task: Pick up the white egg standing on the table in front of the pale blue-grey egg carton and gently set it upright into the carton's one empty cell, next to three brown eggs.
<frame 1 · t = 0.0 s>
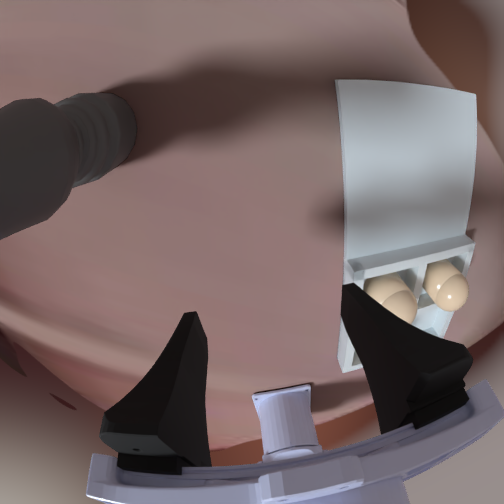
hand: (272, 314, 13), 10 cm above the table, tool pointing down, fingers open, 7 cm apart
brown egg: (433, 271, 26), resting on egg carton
candle holder: (100, 132, 17), on the table
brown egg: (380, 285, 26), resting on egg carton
egg carton: (401, 300, 28), on the table
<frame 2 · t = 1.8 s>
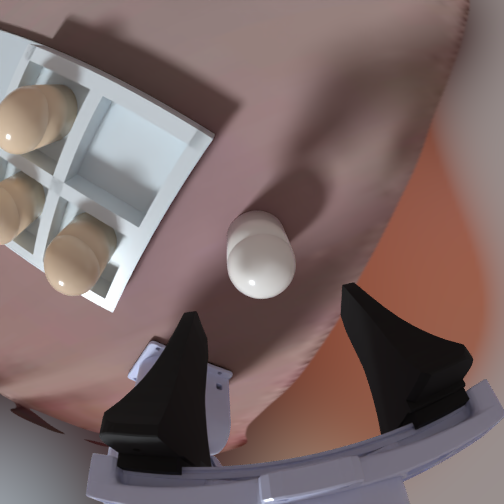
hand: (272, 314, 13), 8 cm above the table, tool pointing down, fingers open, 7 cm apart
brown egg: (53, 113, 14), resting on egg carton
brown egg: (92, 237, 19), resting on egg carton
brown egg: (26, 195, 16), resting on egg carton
white egg: (255, 237, 20), on the table
egg carton: (73, 175, 16), on the table
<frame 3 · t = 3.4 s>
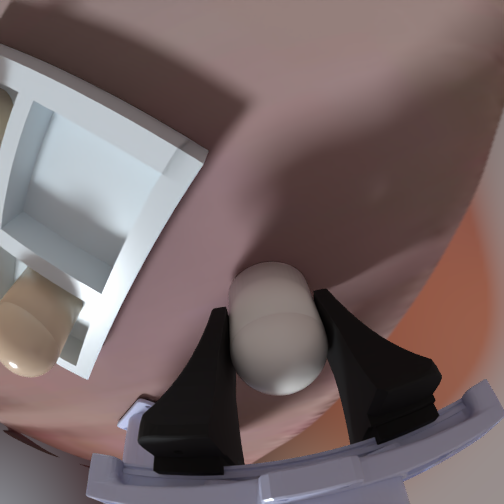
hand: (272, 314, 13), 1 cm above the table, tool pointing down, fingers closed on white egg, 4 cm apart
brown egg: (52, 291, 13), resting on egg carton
white egg: (268, 295, 15), on the table, touching gripper
egg carton: (20, 210, 11), on the table
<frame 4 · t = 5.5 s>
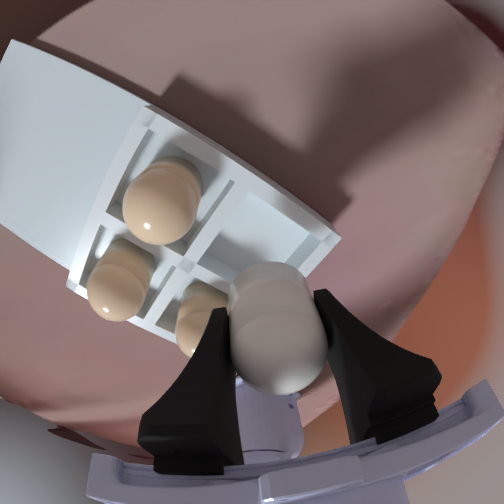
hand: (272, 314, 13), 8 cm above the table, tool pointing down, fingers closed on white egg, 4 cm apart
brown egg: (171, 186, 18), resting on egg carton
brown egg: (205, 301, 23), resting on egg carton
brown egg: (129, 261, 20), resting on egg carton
white egg: (268, 295, 15), point 7 cm above the table, touching gripper
egg carton: (190, 247, 21), on the table
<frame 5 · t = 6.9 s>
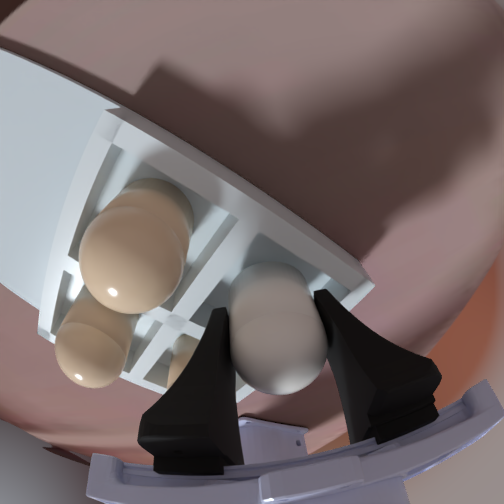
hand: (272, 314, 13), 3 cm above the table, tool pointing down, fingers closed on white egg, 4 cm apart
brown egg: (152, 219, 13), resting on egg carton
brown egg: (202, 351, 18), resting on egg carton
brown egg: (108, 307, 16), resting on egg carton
white egg: (268, 295, 15), point 2 cm above the table, touching gripper
egg carton: (181, 292, 16), on the table
when the fingers open (3 cm above the table, at t = 7.8 s): white egg drops 1 cm, resting on egg carton.
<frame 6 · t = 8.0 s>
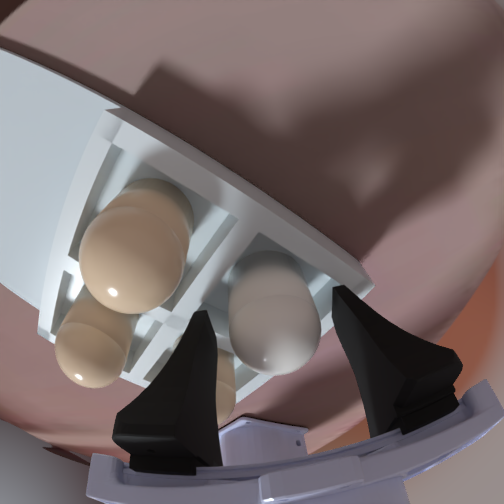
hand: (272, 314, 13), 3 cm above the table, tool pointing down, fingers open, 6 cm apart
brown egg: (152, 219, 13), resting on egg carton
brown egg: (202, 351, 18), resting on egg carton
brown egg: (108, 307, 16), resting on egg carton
white egg: (265, 283, 16), resting on egg carton
egg carton: (181, 292, 16), on the table
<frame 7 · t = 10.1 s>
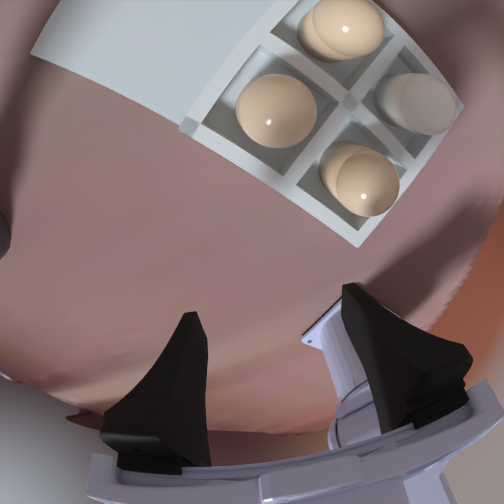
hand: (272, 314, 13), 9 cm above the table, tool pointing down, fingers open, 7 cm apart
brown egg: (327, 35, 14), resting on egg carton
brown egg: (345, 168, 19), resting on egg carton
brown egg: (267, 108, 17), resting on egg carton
white egg: (397, 100, 16), resting on egg carton
egg carton: (336, 101, 17), on the table
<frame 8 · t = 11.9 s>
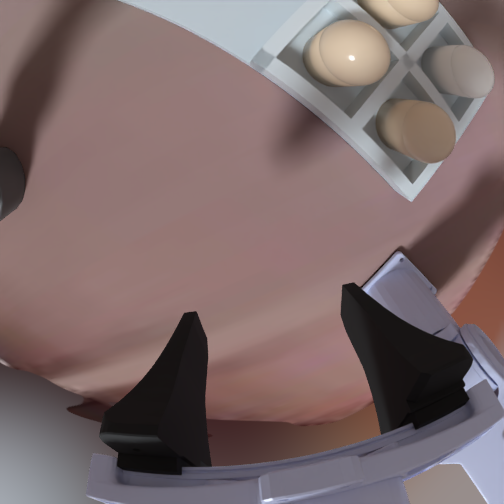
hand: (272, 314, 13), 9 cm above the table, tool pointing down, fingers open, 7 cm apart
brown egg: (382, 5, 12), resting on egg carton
candle holder: (4, 179, 17), on the table
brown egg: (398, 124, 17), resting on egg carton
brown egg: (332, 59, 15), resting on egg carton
white egg: (439, 70, 15), resting on egg carton
egg carton: (389, 63, 15), on the table
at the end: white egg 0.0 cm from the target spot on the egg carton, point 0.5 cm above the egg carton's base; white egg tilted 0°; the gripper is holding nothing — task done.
